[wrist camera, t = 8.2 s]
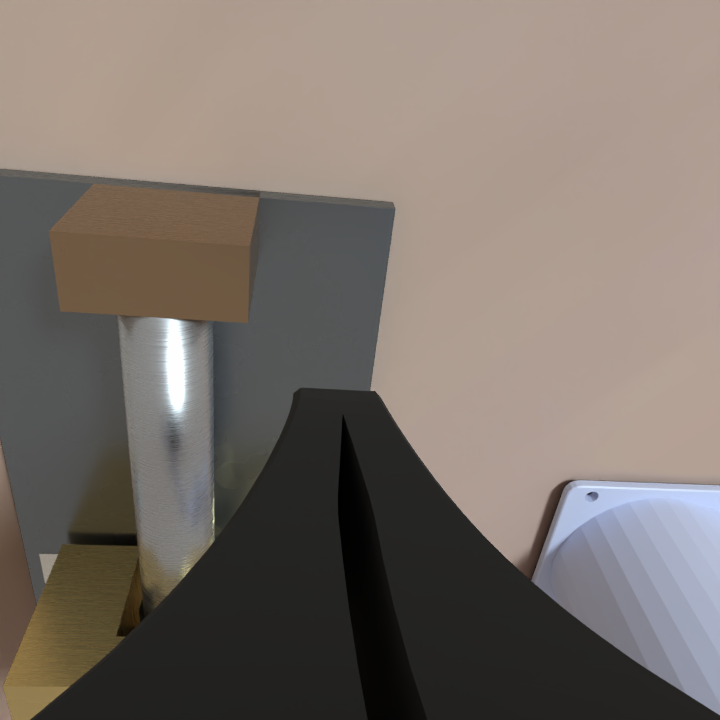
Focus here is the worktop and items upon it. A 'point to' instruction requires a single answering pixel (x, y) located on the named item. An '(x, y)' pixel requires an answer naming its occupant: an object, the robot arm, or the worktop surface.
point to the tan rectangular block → (74, 623)
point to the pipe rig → (168, 352)
